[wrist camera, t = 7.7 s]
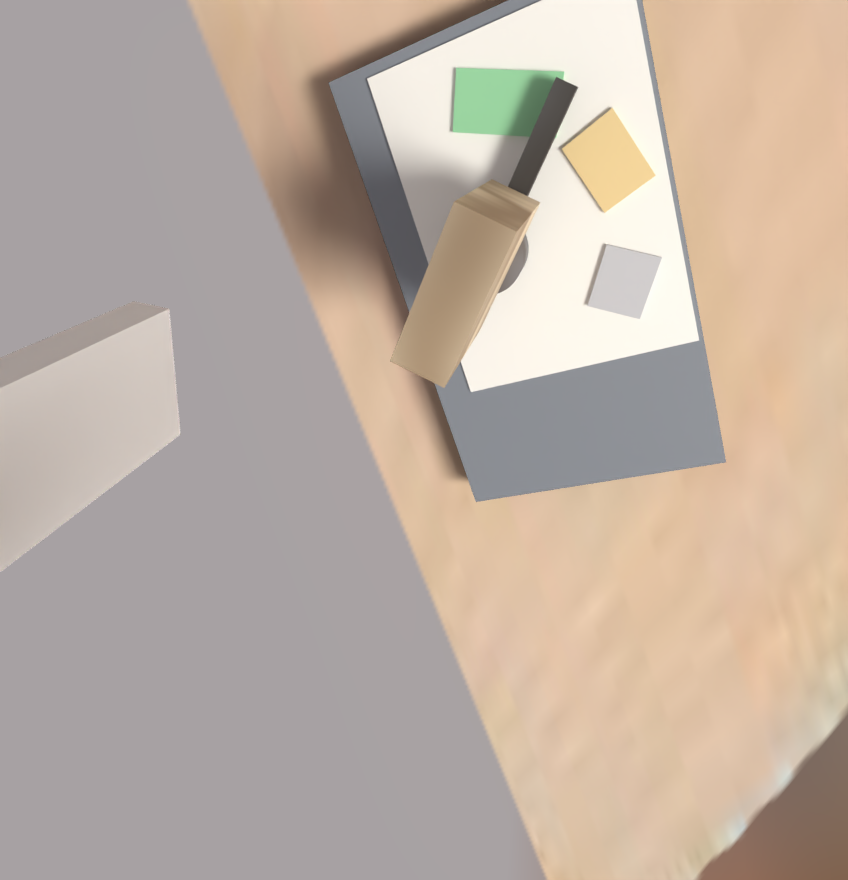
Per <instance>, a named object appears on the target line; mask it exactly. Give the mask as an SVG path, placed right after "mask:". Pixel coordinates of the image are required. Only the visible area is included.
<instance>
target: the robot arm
mask: <svg viewBox="0 0 848 880" xmlns="http://www.w3.org/2000/svg"><path fill="white" fill-rule="evenodd" d="M179 435H180V422H179V412H178V401H177V389H176V379H175V367H174V356H173V346H172V335H171V323H170V313H169V309H168V308H163V307H158V306H154V305H149V304H145V303H140V302H135V301H133V302H131V303H128V304H126V305H124V306H122V307H119V308H117V309H114V310H112V311H109V312H107V313H105V314H102V315H100V316H98V317H95V318H93V319H90V320H88V321H86V322H83V323H81V324H79V325H76V326H74V327H71V328H69V329H67V330H64V331H62V332H60V333H57V334H55V335H53V336H50V337H48V338H45V339H43V340H41V341H38V342H36V343H34V344H31V345H29V346H27V347H24V348H22V349H19V350H17V351H15V352H12V353H10V354H7V355H5V356H3V357H1V358H0V572H1V571H2V570H4V569H5V568H6V567H8V566H9V565H10V564H12V563H13V562H14V561H16V559H18V558H19V557H21V556H22V555H23V554H25V553H26V552H27V551H29V550H30V549H31V548H33V547H34V546H35V545H36V544H38V543H39V542H40V541H41V540H43V539H44V538H46V537H47V536H48V535H50V534H51V533H52V532H53V531H55V530H56V529H57V528H59V527H60V526H61V525H63V524H64V523H65V522H66V521H68V520H69V519H70V518H72V517H73V516H74V515H76V514H77V513H78V512H79V511H81V510H82V509H83V508H85V507H86V506H87V505H89V504H90V503H91V502H92V501H94V500H95V499H97V498H98V497H99V496H100V495H102V494H103V493H104V492H106V491H107V490H108V489H110V488H111V487H112V486H114V485H115V484H116V483H117V482H119V481H120V480H121V479H123V478H124V477H125V476H127V475H128V474H129V473H131V472H132V471H133V470H135V469H136V468H137V467H138V466H140V465H141V464H142V463H144V462H145V461H146V460H147V459H149V458H150V457H151V456H153V455H154V454H155V453H157V452H158V451H159V450H161V449H162V448H163V447H165V446H166V445H167V444H169V443H170V442H171V441H172V440H174V439H175V438H176V437H178V436H179Z"/></svg>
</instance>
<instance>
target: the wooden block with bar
mask: <svg viewBox="0 0 848 880" xmlns="http://www.w3.org/2000/svg"><path fill="white" fill-rule="evenodd" d="M577 89H578V87H577V86H575V85H573V84H571V83H568V82H566V81H564V80H562V79H560V78H558V77H556V78H555V81H554V83H553V85H552V87H551V90H550V92H549V94H548V97H547V99H546V101H545V103H544V106H543V108H542V110H541V112H540V115H539V117H538V119H537V122H536V124H535V126H534V128H533V131H532V133H531V135H530V137H529V140H528V142H527V144H526V147H525V149H524V151H523V153H522V156H521V158H520V160H519V162H518V165H517V167H516V169H515V171H514V174H513V176H512V178H511V181H510V183H509V185H508V187H507V186H505V185H503V184H501V183H499V182H497V181H495V180H493V179H491V180H490V181H488V182H486V183H485V184H483V185H481V186H480V187H478V188H476V189H474V190H473V191H471V192H469V193H468V194H466V195H464V196H463V197H461V198H459V199H457V200H456V201H454V203H453V205H452V208H451V210H450V213H449V215H448V218H447V220H446V223H445V225H444V228H443V230H442V233H441V235H440V238H439V240H438V243H437V245H436V248H435V250H434V253H433V255H432V258H431V260H430V263H429V265H428V268H427V270H426V273H425V275H424V278H423V280H422V283H421V285H420V288H419V290H418V293H417V295H416V298H415V300H414V303H413V305H412V308H411V310H410V313H409V315H408V317H407V320H406V322H405V325H404V327H403V330H402V332H401V335H400V337H399V340H398V342H397V345H396V347H395V350H394V352H393V355H392V357H391V360H390V362H393V363H395V364H397V365H399V366H401V367H403V368H405V369H407V370H409V371H411V372H413V373H415V374H417V375H419V376H421V377H423V378H425V379H427V380H429V381H431V382H433V383H435V384H437V385H439V386H441V387H443V388H445V386H446V384H447V383H448V381H449V379H450V378H451V376H452V375H453V373H454V371H455V370H456V368H457V367H458V365H459V363H460V362H461V360H462V358H463V357H464V355H465V354H466V352H467V350H468V349H469V347H470V346H471V344H472V342H473V341H474V339H475V337H476V336H477V334H478V333H479V331H480V329H481V327H482V325H483V323H484V321H485V319H486V317H487V314H488V312H489V310H490V308H491V306H492V304H493V302H494V300H495V298H496V295H497V294H498V293H501V292H503V291H505V290H506V289H508V288H509V287H510V286H511V285H512V284H513V283H514V282H515V281H516V279H517V278H518V276H519V274H520V273H521V271H522V269H523V267H524V266H525V264H526V261H527V258H528V252H529V245H528V240H527V236H526V232H527V230H528V228H529V226H530V224H531V221H532V219H533V217H534V215H535V213H536V211H537V209H538V207H539V205H540V202H539V201H536V200H534V199H532V198H530V197H528V195H529V193H530V191H531V189H532V187H533V185H534V182H535V180H536V178H537V176H538V174H539V172H540V169H541V167H542V165H543V163H544V161H545V159H546V156H547V154H548V152H549V150H550V148H551V146H552V143H553V141H554V139H555V137H556V135H557V132H558V130H559V128H560V126H561V124H562V122H563V119H564V117H565V115H566V113H567V111H568V109H569V106H570V104H571V102H572V100H573V98H574V96H575V93H576V91H577Z"/></svg>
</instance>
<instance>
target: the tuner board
mask: <svg viewBox="0 0 848 880" xmlns="http://www.w3.org/2000/svg"><path fill="white" fill-rule="evenodd" d="M556 77H558V78H560V79H562V80H564V81H566V82H568V83H571V84H573V85H575V86H577V87H578V89H577V91H576V93H575V96H574V98H573V100H572V102H571V104H570V106H569V109H568V111H567V113H566V115H565V117H564V119H563V122H562V124H561V126H560V128H559V130H558V132H557V135H556V137H555V139H554V141H553V143H552V146H551V148H550V150H549V152H548V154H547V156H546V159H545V161H544V163H543V165H542V167H541V169H540V172H539V174H538V176H537V178H536V180H535V182H534V185H533V187H532V189H531V191H530V193H529V195H528V197H530V198H532V199H534V200H536V201H539V202H540V205H539V207H538V209H537V211H536V213H535V215H534V217H533V219H532V221H531V224H530V226H529V228H528V230H527V232H526V236H527V240H528V245H529V252H528V258H527V261H526V264H525V266H524V267H523V269H522V271H521V273H520V274H519V276H518V278H517V279H516V281H515V282H514V283H513V284H512V285H511V286H510V287H509V288H508V289H506V290H505V291H503V292H501V293H498V294H497V295H496V298H495V300H494V302H493V304H492V306H491V308H490V310H489V312H488V314H487V317H486V319H485V321H484V323H483V325H482V327H481V329H480V331H479V333H478V334H477V336H476V337H475V339H474V341H473V342H472V344H471V346H470V347H469V349H468V350H467V352H466V354H465V355H464V357H463V358H462V360H461V362H460V363H459V365H458V367H457V368H456V370H455V371H454V373H453V375H452V376H451V378H450V379H449V381H448V383H447V384H446V386H445V388H443V387H441V386H439V385H437V384H435V383H434V384H435V387H436V390H437V392H438V395H439V398H440V401H441V404H442V407H443V409H444V412H445V415H446V418H447V421H448V424H449V426H450V429H451V432H452V435H453V438H454V441H455V444H456V446H457V449H458V452H459V455H460V458H461V461H462V463H463V466H464V469H465V472H466V475H467V478H468V480H469V483H470V486H471V489H472V492H473V495H474V498H475V500H476V502H478V501H484V500H491V499H497V498H503V497H510V496H516V495H522V494H529V493H535V492H541V491H548V490H554V489H560V488H567V487H573V486H579V485H586V484H592V483H598V482H605V481H611V480H617V479H623V478H630V477H636V476H642V475H649V474H655V473H661V472H668V471H674V470H680V469H687V468H693V467H699V466H706V465H712V464H718V463H725V462H726V459H725V454H724V448H723V443H722V437H721V432H720V426H719V421H718V415H717V410H716V404H715V399H714V393H713V388H712V382H711V377H710V371H709V366H708V360H707V355H706V349H705V344H704V338H703V333H702V327H701V322H700V316H699V311H698V305H697V300H696V294H695V289H694V283H693V278H692V272H691V267H690V261H689V256H688V250H687V245H686V239H685V234H684V228H683V223H682V217H681V212H680V206H679V201H678V195H677V190H676V184H675V179H674V173H673V167H672V162H671V156H670V151H669V145H668V140H667V134H666V129H665V123H664V118H663V112H662V107H661V101H660V96H659V90H658V85H657V79H656V74H655V68H654V63H653V57H652V52H651V46H650V41H649V35H648V30H647V24H646V19H645V13H644V8H643V2H642V0H508V1H505V2H503V3H501V4H499V5H497V6H495V7H492V8H490V9H488V10H486V11H484V12H481V13H479V14H477V15H475V16H473V17H471V18H468V19H466V20H464V21H462V22H460V23H457V24H455V25H453V26H451V27H449V28H447V29H444V30H442V31H440V32H438V33H436V34H433V35H431V36H429V37H427V38H425V39H423V40H420V41H418V42H416V43H414V44H412V45H410V46H407V47H405V48H403V49H401V50H399V51H396V52H394V53H392V54H390V55H388V56H386V57H383V58H381V59H379V60H377V61H375V62H372V63H370V64H368V65H366V66H364V67H362V68H359V69H357V70H355V71H353V72H351V73H349V74H346V75H344V76H342V77H340V78H338V79H335V80H333V81H331V82H329V85H330V88H331V91H332V94H333V97H334V100H335V103H336V105H337V108H338V111H339V114H340V117H341V120H342V122H343V125H344V128H345V131H346V134H347V137H348V139H349V142H350V145H351V148H352V151H353V154H354V157H355V159H356V162H357V165H358V168H359V171H360V174H361V176H362V179H363V182H364V185H365V188H366V191H367V193H368V196H369V199H370V202H371V205H372V208H373V211H374V213H375V216H376V219H377V222H378V225H379V228H380V230H381V233H382V236H383V239H384V242H385V245H386V247H387V250H388V253H389V256H390V259H391V262H392V265H393V267H394V270H395V273H396V276H397V279H398V282H399V284H400V287H401V290H402V293H403V296H404V299H405V301H406V304H407V307H408V310H409V313H410V310H411V308H412V305H413V303H414V300H415V298H416V295H417V293H418V290H419V288H420V285H421V283H422V280H423V278H424V275H425V273H426V270H427V268H428V265H429V263H430V260H431V258H432V255H433V253H434V250H435V248H436V245H437V243H438V240H439V238H440V235H441V233H442V230H443V228H444V225H445V223H446V220H447V218H448V215H449V213H450V210H451V208H452V205H453V203H454V201H456V200H457V199H459V198H461V197H463V196H464V195H466V194H468V193H469V192H471V191H473V190H474V189H476V188H478V187H480V186H481V185H483V184H485V183H486V182H488V181H490V180H491V179H493V180H495V181H497V182H499V183H501V184H503V185H505V186H507V187H508V185H509V183H510V181H511V178H512V176H513V174H514V171H515V169H516V167H517V165H518V162H519V160H520V158H521V156H522V153H523V151H524V149H525V147H526V144H527V142H528V140H529V137H530V135H531V133H532V131H533V128H534V126H535V124H536V122H537V119H538V117H539V115H540V112H541V110H542V108H543V106H544V103H545V101H546V99H547V97H548V94H549V92H550V90H551V87H552V85H553V83H554V81H555V78H556Z"/></svg>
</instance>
